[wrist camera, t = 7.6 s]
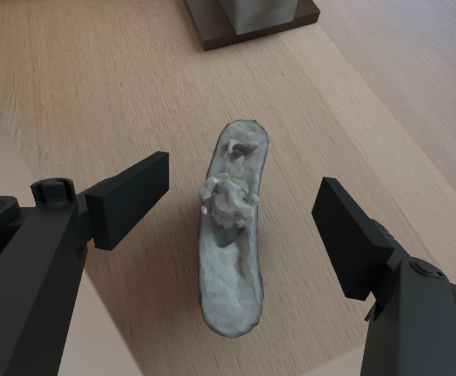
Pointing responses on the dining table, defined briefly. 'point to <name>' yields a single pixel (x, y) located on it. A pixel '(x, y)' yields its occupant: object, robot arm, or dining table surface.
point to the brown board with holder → (247, 19)
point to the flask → (232, 231)
